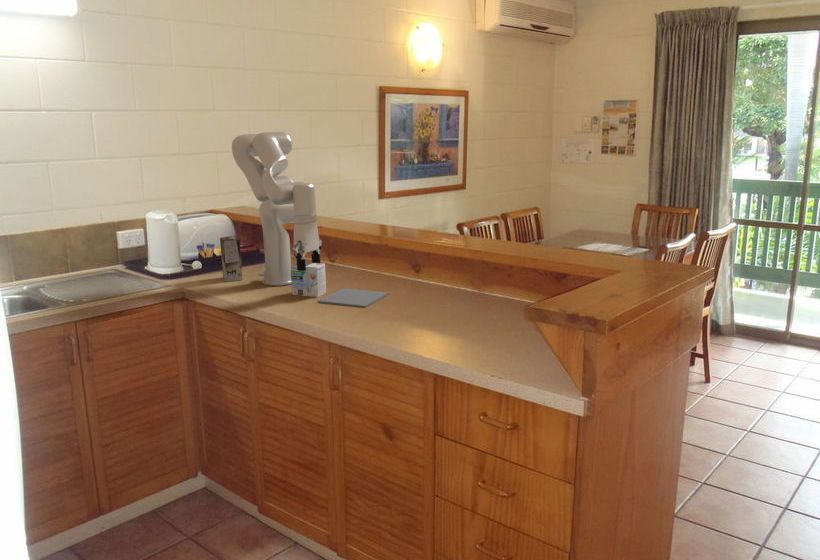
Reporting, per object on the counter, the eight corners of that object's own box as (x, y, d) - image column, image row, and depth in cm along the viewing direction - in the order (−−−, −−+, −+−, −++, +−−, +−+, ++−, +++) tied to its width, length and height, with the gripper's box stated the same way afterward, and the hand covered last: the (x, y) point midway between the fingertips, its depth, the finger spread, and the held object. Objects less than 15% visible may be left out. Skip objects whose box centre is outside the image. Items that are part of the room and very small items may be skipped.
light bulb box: (291, 295, 242) (289, 265, 239) (300, 290, 248) (298, 261, 245) (318, 297, 238) (317, 267, 236) (327, 292, 245) (325, 263, 242)
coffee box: (243, 280, 265) (240, 239, 261) (226, 281, 263) (223, 240, 259) (238, 275, 273) (235, 235, 270) (222, 277, 271) (219, 237, 267)
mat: (318, 302, 232) (318, 300, 232) (343, 289, 248) (343, 288, 248) (365, 307, 225) (365, 305, 225) (388, 294, 241) (388, 292, 241)
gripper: (309, 216, 246) (312, 262, 249) (282, 222, 230) (286, 272, 234) (327, 216, 243) (330, 263, 246) (301, 222, 227) (305, 273, 231)
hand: (309, 267), depth 240 cm, fingers open, 9 cm apart
